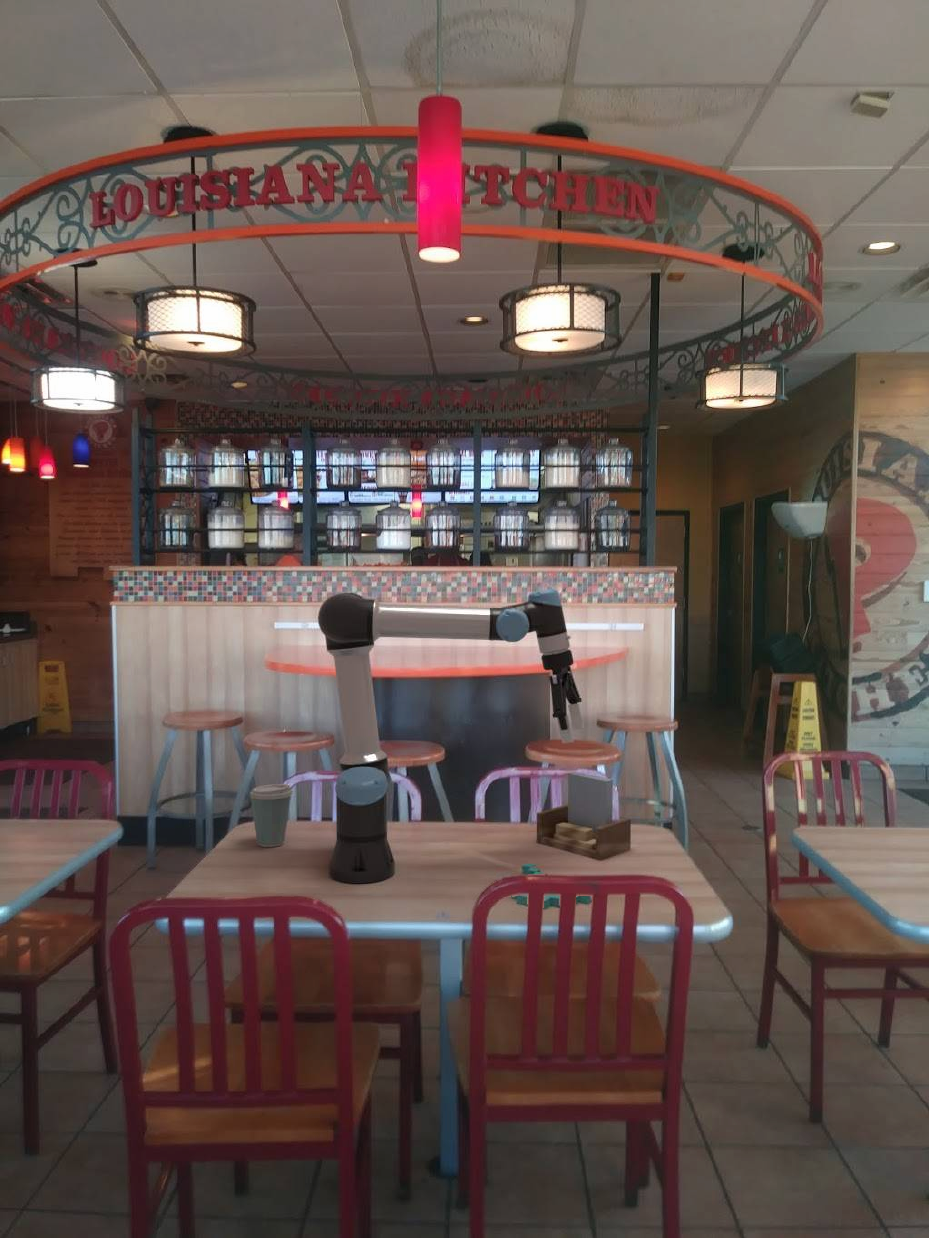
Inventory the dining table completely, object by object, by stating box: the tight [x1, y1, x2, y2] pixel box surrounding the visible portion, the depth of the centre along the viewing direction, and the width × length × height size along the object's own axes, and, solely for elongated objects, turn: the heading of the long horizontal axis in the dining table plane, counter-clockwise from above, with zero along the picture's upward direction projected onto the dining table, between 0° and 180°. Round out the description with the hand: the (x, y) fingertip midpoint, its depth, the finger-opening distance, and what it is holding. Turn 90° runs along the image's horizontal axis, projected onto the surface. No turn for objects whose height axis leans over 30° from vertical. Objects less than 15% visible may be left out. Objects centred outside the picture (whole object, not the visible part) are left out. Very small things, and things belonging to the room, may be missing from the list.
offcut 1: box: [556, 822, 593, 842], centre depth 217 cm, size 9×3×2 cm, turn 49°
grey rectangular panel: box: [567, 771, 614, 834], centre depth 220 cm, size 12×2×17 cm, turn 44°
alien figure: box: [508, 862, 592, 910], centre depth 191 cm, size 20×2×20 cm
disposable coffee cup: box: [249, 783, 293, 848], centre depth 225 cm, size 11×11×15 cm
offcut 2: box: [554, 834, 596, 850], centre depth 217 cm, size 12×4×2 cm, turn 44°
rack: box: [536, 804, 632, 861], centre depth 218 cm, size 20×12×9 cm, turn 44°
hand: (573, 735), depth 216 cm, fingers open, 13 cm apart
